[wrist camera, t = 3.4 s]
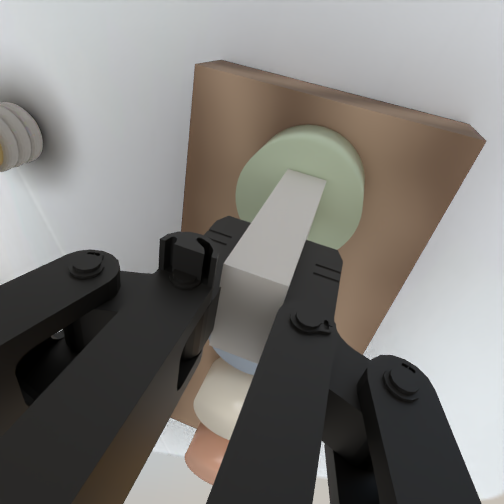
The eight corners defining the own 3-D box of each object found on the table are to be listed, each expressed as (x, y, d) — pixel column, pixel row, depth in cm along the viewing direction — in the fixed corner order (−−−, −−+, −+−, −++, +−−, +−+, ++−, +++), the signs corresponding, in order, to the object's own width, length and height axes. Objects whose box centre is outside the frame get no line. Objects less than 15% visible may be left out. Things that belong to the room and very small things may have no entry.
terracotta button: (196, 439, 29) (182, 471, 26) (203, 405, 26) (187, 439, 24) (253, 464, 28) (243, 498, 26) (266, 432, 25) (256, 469, 23)
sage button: (245, 213, 17) (227, 237, 15) (266, 110, 15) (247, 123, 13) (342, 244, 17) (337, 274, 15) (383, 143, 14) (384, 162, 12)
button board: (181, 387, 33) (165, 415, 31) (220, 59, 17) (195, 64, 15) (301, 437, 31) (295, 470, 29) (469, 124, 16) (486, 141, 13)
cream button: (206, 390, 25) (190, 423, 22) (215, 344, 22) (197, 377, 20) (273, 417, 24) (262, 454, 22) (291, 373, 21) (281, 411, 19)
